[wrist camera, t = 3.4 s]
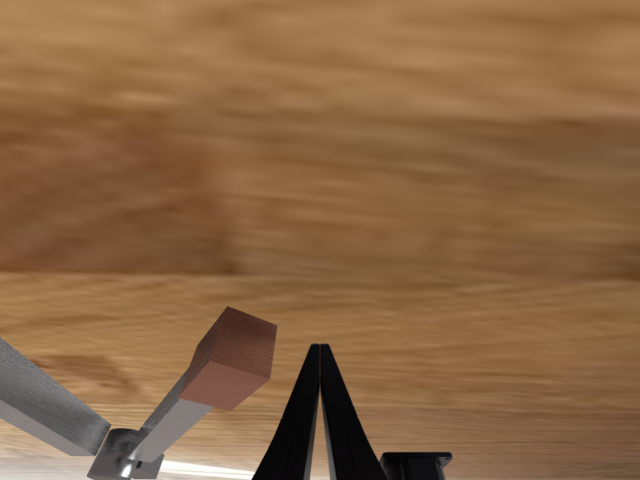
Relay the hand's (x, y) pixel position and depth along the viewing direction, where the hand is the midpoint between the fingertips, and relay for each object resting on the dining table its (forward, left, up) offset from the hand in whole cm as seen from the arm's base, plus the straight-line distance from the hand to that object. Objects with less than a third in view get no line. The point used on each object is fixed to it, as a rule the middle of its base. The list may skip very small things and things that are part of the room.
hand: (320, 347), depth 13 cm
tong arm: (-8, +10, -1) cm, 13 cm away
